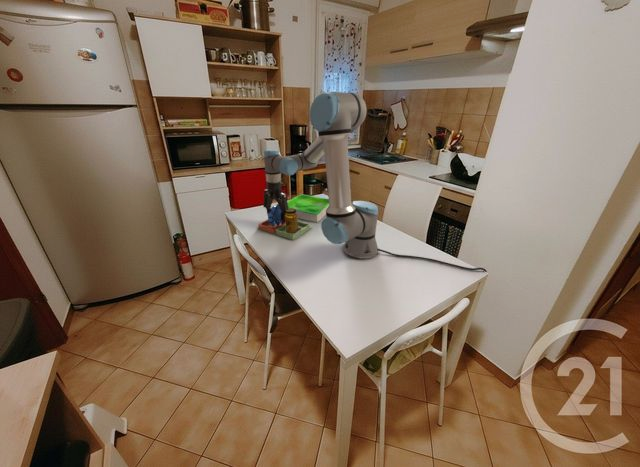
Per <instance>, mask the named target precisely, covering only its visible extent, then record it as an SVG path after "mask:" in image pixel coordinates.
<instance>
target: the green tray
mask: <svg viewBox="0 0 640 467" xmlns="http://www.w3.org/2000/svg"><path fill="white" fill-rule="evenodd" d="M297 222H298V227H299V228H303V229H301V230H300V231H298V232H296V233H295V234H288V233H285V232H284V231H285V230H286V224H285V225H283V226H282V227H280V228H278V229H276V230H275V231H276V233H275V235H277V236H280V237H282V238H286V239H288V240H292V241H294V240H295V239H297V238H299V237H300V236H302V235H303V234H304V233H306V232H308V231H309V230H310V229H311V224H310V223H306V222H304V221H300V220H297Z"/></svg>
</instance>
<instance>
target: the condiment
mask: <svg viewBox="0 0 640 467" xmlns="http://www.w3.org/2000/svg"><path fill="white" fill-rule="evenodd" d="M285 219H286V230H285V231H284V232H285V233H288V234H295V233H296V232H298V231H300V230H301V229H303V228H299V227H298V222H297V221H298V218H297V214H296V209H294V208H289V209H287V210H286V215H285Z"/></svg>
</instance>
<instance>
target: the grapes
mask: <svg viewBox="0 0 640 467" xmlns="http://www.w3.org/2000/svg"><path fill="white" fill-rule="evenodd" d="M283 211H284V210H283ZM281 213H282V212H281V210H280V207H279V205H278V203H277V204H276V206H275V205H274V206H271V212H269V213H268V214H267V220H268V223H271V225H272V226H275V225H279V224H280V223H281ZM268 217H269V219H268Z"/></svg>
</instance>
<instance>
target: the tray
mask: <svg viewBox="0 0 640 467" xmlns="http://www.w3.org/2000/svg"><path fill="white" fill-rule="evenodd" d="M287 203H288V208H294V209H296V214H297V219H299V220H304V221H308V222H312V223H319V221H321V220H323V219H324V218H325V217H326V209H327V208H328V207H329V198H327V197H320V196H314V195H308V194H303V193H299V194H298V195H296V196H294V197H293V198H291V199H289V200H287Z"/></svg>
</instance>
